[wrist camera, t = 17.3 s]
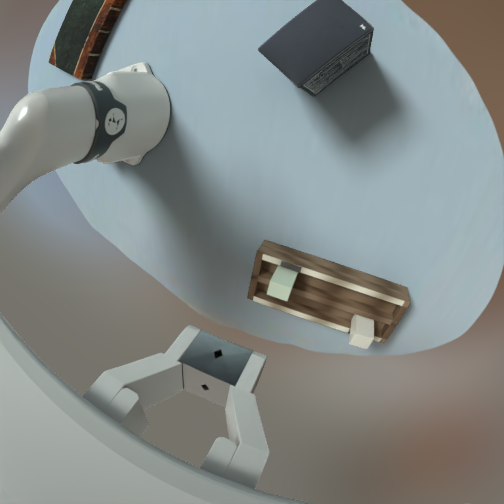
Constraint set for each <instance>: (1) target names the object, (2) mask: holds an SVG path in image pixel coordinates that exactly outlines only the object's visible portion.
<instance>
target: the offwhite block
mask: <svg viewBox="0 0 504 504" xmlns="http://www.w3.org/2000/svg"><path fill="white" fill-rule="evenodd" d="M373 339H374V320H372V319H369V318H366V317H363V316H360V315H357V314H354V316H353V318H352V319H351V329H350V339H349V344H351V345H354V346H357V347H361V348H364V349H367V348H368V347H369V345H370V344H371V342H372V341H373Z"/></svg>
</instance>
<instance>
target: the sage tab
mask: <svg viewBox="0 0 504 504" xmlns="http://www.w3.org/2000/svg"><path fill="white" fill-rule="evenodd" d="M297 274H298V272H296V271H293V270H291V269H288V268H285V267H282V266H280V265H278V267H277V269H276V271H275V272H274V274H273V276H272V278H271V280H270V283H269V287H268V291H267V295H270V296H273V297H276V298H278V299H281V300H284V301H288V298H289V296H290V293H291V291H292V288H293V286H294V283H295V281H296V278H297Z"/></svg>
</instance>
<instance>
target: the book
mask: <svg viewBox="0 0 504 504" xmlns="http://www.w3.org/2000/svg"><path fill="white" fill-rule="evenodd" d="M125 2H126V0H73V1H72V4H71V6H70V8H69V10H68V12H67V14H66V17H65V19H64V21H63V23H62V26H61V28H60V31H59V33H58V36H57V38H56V41H55V44H54V47H53V49H52V52H51V56H50V59H49V63H50V64H52V65H54V66H56V67H58V68H60V69H61V70H63V71H65V72H67V73H69V74H71V75H73V76H75V77H76V78H78V79H82V80H89V79H91V78H92V75H93V72H94V70H95V67H96V64H97V62H98V59H99V57H100V54H101V52H102V49H103V47H104V45H105V42H106V40H107V38H108V36H109V34H110V31H111V29H112V27H113V25H114V23H115V21H116V19H117V17H118V15H119V13H120V11H121V9H122V8H123V6H124V4H125Z"/></svg>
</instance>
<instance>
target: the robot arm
mask: <svg viewBox="0 0 504 504" xmlns="http://www.w3.org/2000/svg"><path fill="white" fill-rule="evenodd" d="M136 70H137V72H136ZM169 118H170V102H169V97H168V94H167V92H166V89H165V88H164V86H163V84H162V83H161V82H160V81H159V80H158V79H157V78H156V77H154V76H153V74H152V72H151V69H150V67H149V65H148V64H147V63H146V62H140V63H137V64H134V65H131V66H128V67H126V68H123V69H120V70H118V71H115V72H109V73H108V74H107V75H105V76H102V77H100V78H98V79H96V80H94V81H84V82H80V83H75V84H73V85H71V86H68V87H59V88H51V89H44V90H38V91H34V92H32V93H30V94H28V95H26V96H25V97H24V98H22V99H21V100H20V101H19V102H18V103H17V104H16V105H15V107H14V108H13V110H12V111H11V113H10V115H9V117H8V119H7V121H6V123H5V125H4V127H3V128H2V130H1V131H0V216H1V214H2V213H3V211H4V210H5V209H6V207H7V206H8V205H9V203H10V202H11V201H12V200H13V199H14V198H15V197H16V196H17V194H18V193H19V192H20V191H21V190H23V189H24V188H25V187H26V186H27V185H29V184H30V183H31V182H32V181H34V180H35V179H37V178H39V177H40V176H43V175H45V174H47V173H49V172H51V171H54V170H56V169H58V168H61V167H63V166H66V165H69V164H71V163H74V164H80V163H86V162H89V161H92V160H94V159H97V161H99V162H103V164H109V163H114V162H118V161H124V162H126V163H128V164H130V165H137V164H139V163H140V161H141V160H142V158H143V156H144V155H145V153H147V152H148V151H149V150H151V149H152V148H154V147H155V146H156V145H157V144H158V143H159V142H160V141H161V139H162V138H163V136H164V134H165V132H166V129H167V127H168V123H169ZM266 359H267V356H266V355H263V354H260V353H258V352H255V351H253V350H251V349H248V348H245V347H243V346H240V345H237V344H234V343H232V342H229V341H225V340H223V339H221V338H219V337H216V336H214V335H212V334H210V333H208V332H205V331H203V330H201V329H199V328H196V327H194V326H192V325H188V326H187V327H186V328H185V329H184V330H183V332H182V333H181V334H180V335H179V336H178V338H177V339H176V340H175V342H174V343H173V344H172V345H171V347H170V348H169V349H168V350H167V352H166V353H165V354H163V353H159V354H156V355H153V356H150V357H147V358H144V359H141V360H138V361H135V362H132V363H129V364H126V365H123V366H120V367H117V368H113V369H110V370H107V371H104V373H103V374H102V375H101V376H100V377H99V378H98V379H97V380H96V381H95V383H94V384H93V385H92V386H91V387H90V388H89V389H88V390H87V391H86V393H85V394H84V395H83V396H81V395H80V394H79V393H78V392H77V391H75V390H74V389H73V388H72V387H71V386H69V385H68V384H67V383H66V382H65V381H64V380H63V379H62V378H60V377H59V376H58V375H57V374H56V373H55V372H54V371H53V370H52V369H51V368H50V367H49V366H48V365H47V364H46V363H44V361H43V360H42V359H41V358H39V356H38V355H37V354H36V353H35V352H34V351H33V350H32V349H31V348H30V347H29V346H28V345H27V344H26V343H25V342H24V340H23V339H22V338H21V337H20V336H19V335H18V334H17V333H16V331H15V330H14V329H13V328H12V326H11V325H10V324H9V323H8V322H7V320H6V319H5V318H4V317H3V315H2V314H1V313H0V504H316V503H310V502H304V501H300V500H295V499H291V498H287V497H283V496H279V495H275V494H271V493H267V492H264V491H261V490H257V489H255V486H256V484H257V482H258V479H259V477H260V475H261V473H262V470H263V467H264V465H265V463H266V460H267V458H268V455H269V450H268V446H267V442H266V438H265V434H264V430H263V426H262V422H261V418H260V414H259V409H258V405H257V401H256V397H255V395H254V394H253V392H254V390H255V388H256V386H257V383H258V380H259V378H260V375H261V373H262V370H263V367H264V365H265V362H266ZM183 390H186V391H188V392H190V393H192V394H194V395H197V396H199V397H201V398H203V399H206V400H208V401H210V402H212V403H214V404H216V405H219V406H221V407H223V408H225V412H226V420H227V427H228V435H229V439H226V438H224V437H220V438H217V439H216V441H215V443H214V444H213V446H212V448H211V450H210V451H209V453H208V455H207V457H206V458H205V460H204V462H203V464H202V465H201V467H200V468H199V467H196V466H194V465H192V464H190V463H188V462H186V461H184V460H181V459H179V458H177V457H175V456H173V455H172V454H170V453H168V452H166V451H164V450H162V449H160V448H158V447H157V446H155V445H153V444H151V443H150V442H148V441H146V440H145V439H143V438H141V436H142V435H143V433H144V432H145V431H146V429H147V427H148V426H149V422H148V419H147V417H146V414H145V412H144V410H145V409H147V408H149V407H151V406H154V405H156V404H158V403H160V402H162V401H164V400H166V399H168V398H170V397H172V396H174V395H176V394H178V393H180V392H182V391H183Z"/></svg>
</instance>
